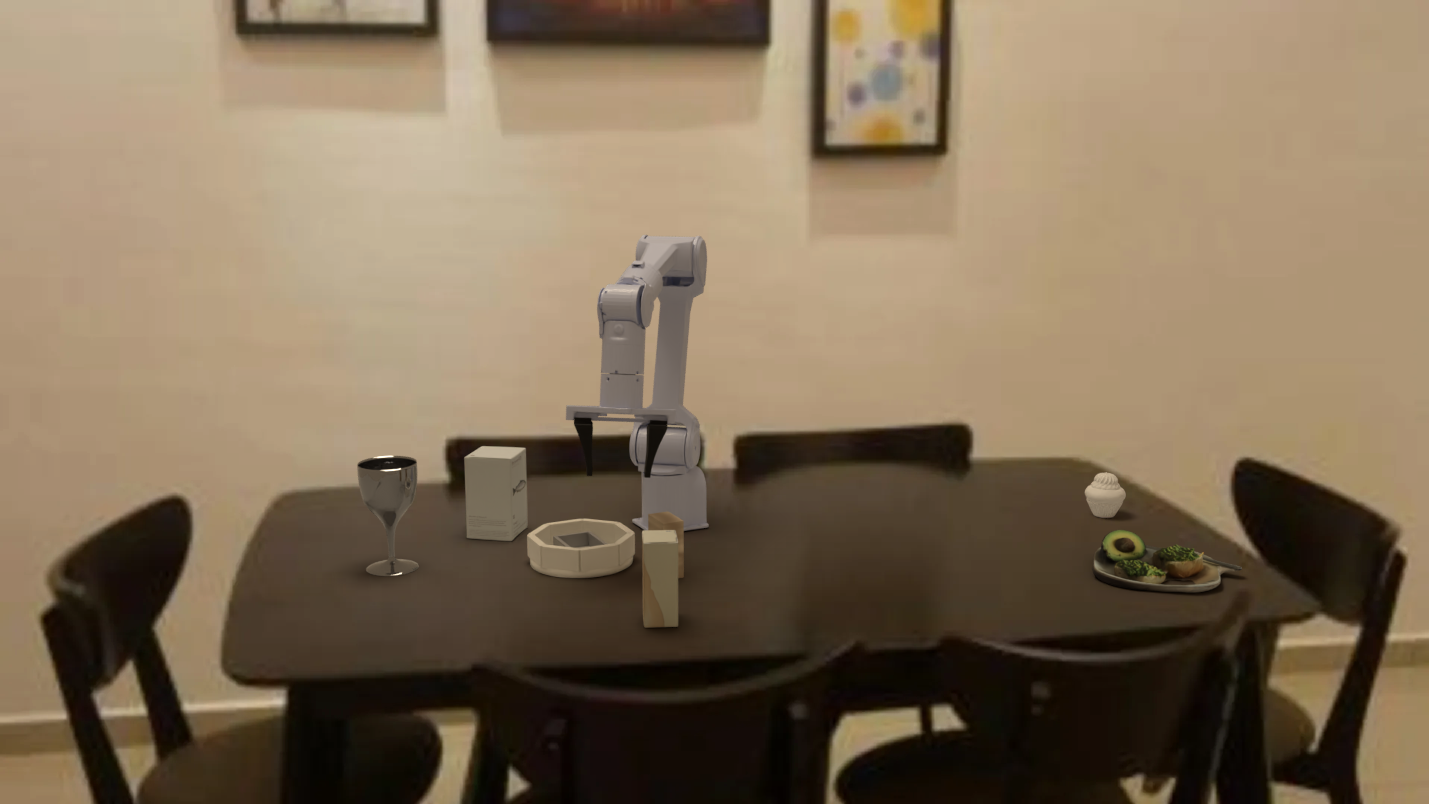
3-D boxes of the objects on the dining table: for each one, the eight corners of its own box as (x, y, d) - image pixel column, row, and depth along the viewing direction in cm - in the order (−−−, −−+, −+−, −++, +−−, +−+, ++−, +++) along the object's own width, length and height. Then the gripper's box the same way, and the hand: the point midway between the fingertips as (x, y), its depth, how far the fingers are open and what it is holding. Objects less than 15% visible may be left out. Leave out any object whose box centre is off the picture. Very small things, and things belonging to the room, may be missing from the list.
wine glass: (432, 562, 193) (427, 458, 190) (402, 579, 186) (396, 472, 182) (383, 556, 195) (378, 453, 192) (351, 573, 188) (345, 467, 185)
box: (642, 613, 173) (641, 529, 171) (676, 612, 173) (676, 528, 171) (643, 629, 168) (642, 542, 166) (679, 627, 168) (678, 541, 166)
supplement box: (513, 542, 202) (510, 458, 199) (465, 539, 203) (462, 456, 201) (529, 527, 209) (527, 446, 206) (483, 524, 210) (480, 444, 208)
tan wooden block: (668, 566, 191) (668, 511, 189) (683, 577, 187) (683, 520, 185) (648, 569, 190) (648, 514, 188) (663, 580, 185) (663, 523, 184)
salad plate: (1237, 562, 194) (1240, 531, 193) (1245, 604, 177) (1248, 570, 176) (1095, 549, 200) (1097, 519, 199) (1089, 589, 183) (1091, 556, 182)
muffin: (1081, 518, 214) (1083, 474, 212) (1086, 507, 219) (1088, 465, 218) (1122, 522, 212) (1125, 478, 210) (1126, 512, 217) (1129, 469, 216)
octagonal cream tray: (609, 540, 203) (609, 514, 202) (649, 568, 190) (648, 540, 189) (516, 553, 196) (515, 527, 196) (550, 584, 184) (549, 555, 183)
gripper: (567, 372, 178) (563, 477, 178) (679, 376, 180) (675, 480, 180) (567, 372, 185) (563, 472, 185) (674, 376, 187) (670, 476, 187)
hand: (618, 476), depth 183 cm, fingers open, 7 cm apart
